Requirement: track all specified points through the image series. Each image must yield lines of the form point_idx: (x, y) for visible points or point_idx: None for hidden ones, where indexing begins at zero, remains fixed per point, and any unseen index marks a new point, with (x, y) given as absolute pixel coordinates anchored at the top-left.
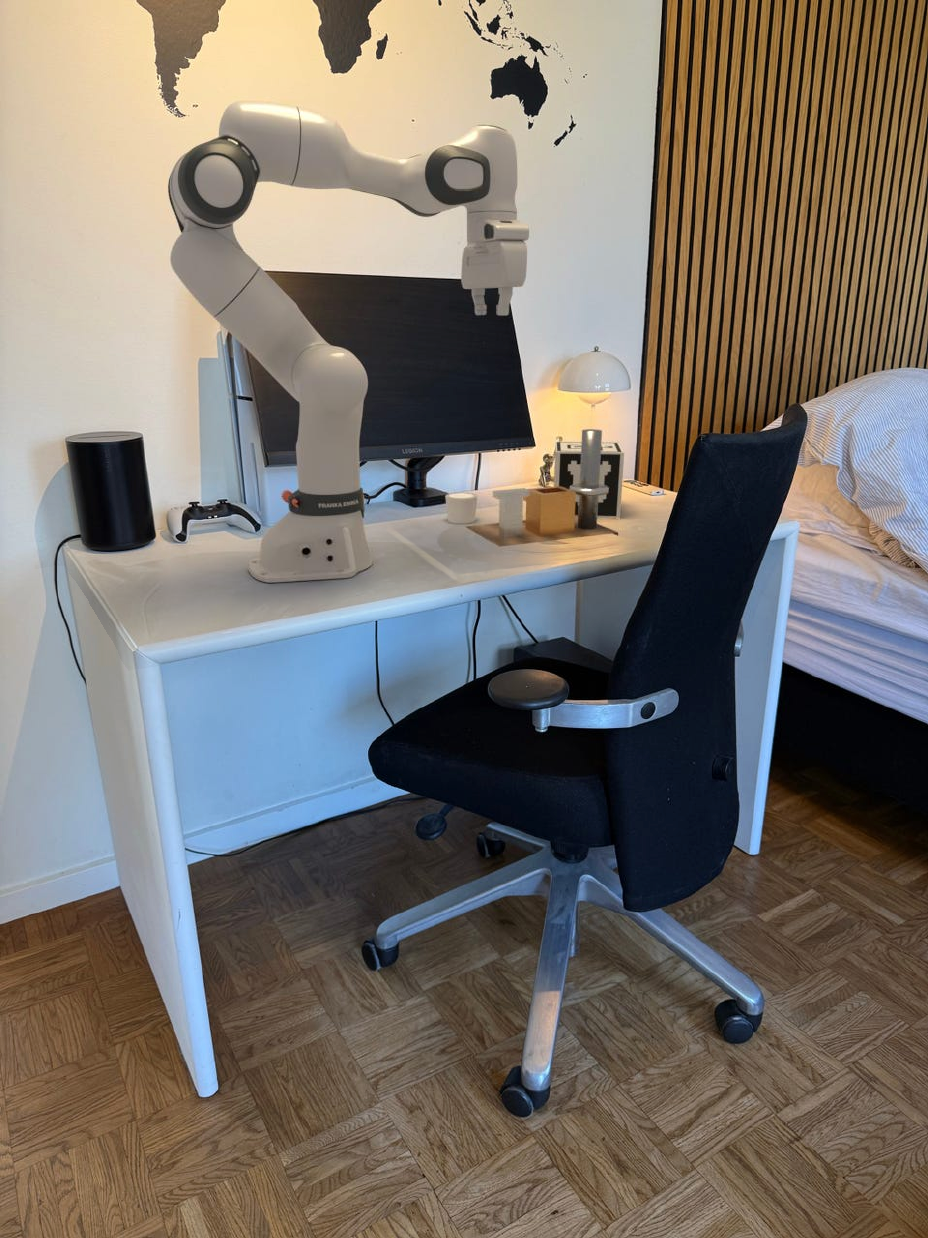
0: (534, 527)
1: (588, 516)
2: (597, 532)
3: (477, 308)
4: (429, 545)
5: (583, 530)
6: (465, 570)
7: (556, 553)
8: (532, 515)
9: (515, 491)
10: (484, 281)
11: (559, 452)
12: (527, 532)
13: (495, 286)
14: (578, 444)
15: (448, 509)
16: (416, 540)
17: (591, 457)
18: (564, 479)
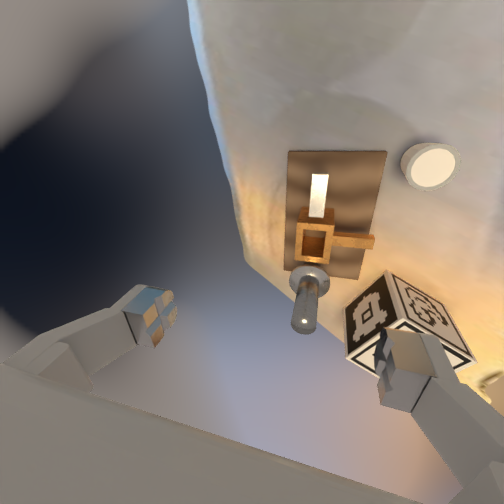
0: None
1: (303, 263)
2: (291, 257)
3: (399, 350)
4: (361, 82)
5: None
6: (250, 88)
7: (268, 201)
8: None
9: (311, 199)
10: (128, 469)
11: (398, 319)
12: None
13: (17, 369)
14: None
15: (431, 143)
16: (395, 71)
17: (296, 298)
18: (386, 301)
